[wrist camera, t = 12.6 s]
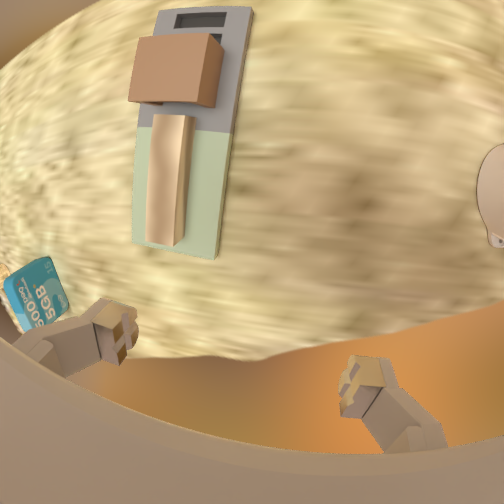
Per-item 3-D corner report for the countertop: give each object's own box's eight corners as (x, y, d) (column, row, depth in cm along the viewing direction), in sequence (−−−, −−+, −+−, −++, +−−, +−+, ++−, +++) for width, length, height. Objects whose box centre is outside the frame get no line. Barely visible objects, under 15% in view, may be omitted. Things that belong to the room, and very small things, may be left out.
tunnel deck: (253, 12, 28) (241, -17, 20) (217, 254, 41) (198, 282, 33) (164, 15, 29) (136, -7, 21) (138, 238, 42) (107, 260, 34)
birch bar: (196, 117, 32) (184, 115, 29) (184, 236, 39) (173, 246, 35) (168, 116, 33) (153, 114, 29) (158, 231, 39) (145, 241, 35)
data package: (71, 306, 51) (36, 337, 40) (59, 306, 52) (25, 335, 41) (50, 254, 47) (9, 280, 36) (39, 257, 48) (0, 281, 37)
